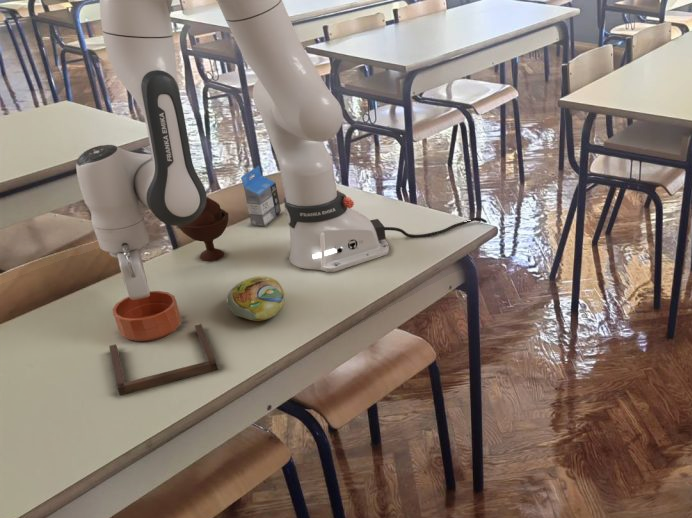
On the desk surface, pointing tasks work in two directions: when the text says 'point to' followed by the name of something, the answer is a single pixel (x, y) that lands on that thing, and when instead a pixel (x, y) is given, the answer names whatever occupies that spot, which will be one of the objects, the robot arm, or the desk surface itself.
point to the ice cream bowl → (208, 229)
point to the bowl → (147, 316)
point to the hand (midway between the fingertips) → (142, 299)
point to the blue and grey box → (261, 198)
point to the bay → (166, 376)
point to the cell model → (256, 298)
